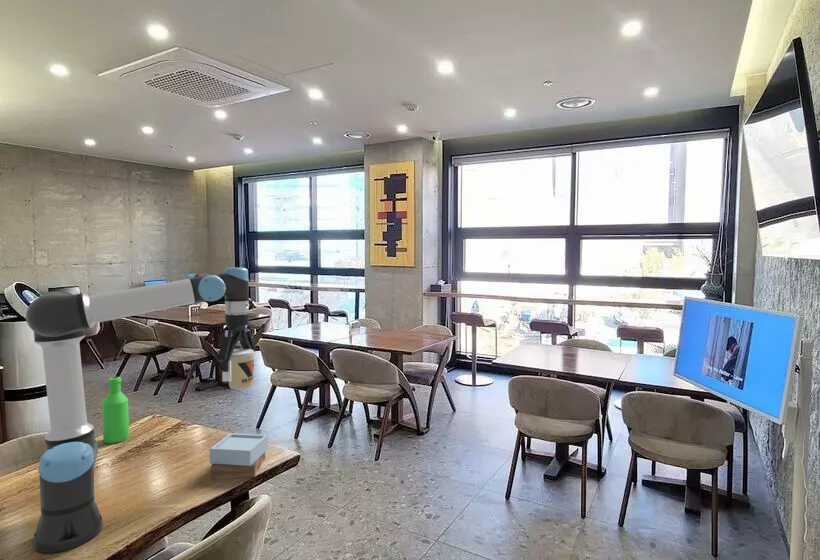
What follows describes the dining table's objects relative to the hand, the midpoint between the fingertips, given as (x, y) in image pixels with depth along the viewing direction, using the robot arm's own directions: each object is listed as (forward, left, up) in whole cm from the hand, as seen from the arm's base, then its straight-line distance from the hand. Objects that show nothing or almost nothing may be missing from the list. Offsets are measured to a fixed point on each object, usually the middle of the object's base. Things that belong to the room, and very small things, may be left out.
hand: (237, 376), depth 161 cm
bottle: (+17, +62, -33) cm, 72 cm away
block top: (+1, 0, -28) cm, 28 cm away
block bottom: (+1, 0, -33) cm, 33 cm away
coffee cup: (+2, 0, -4) cm, 5 cm away
